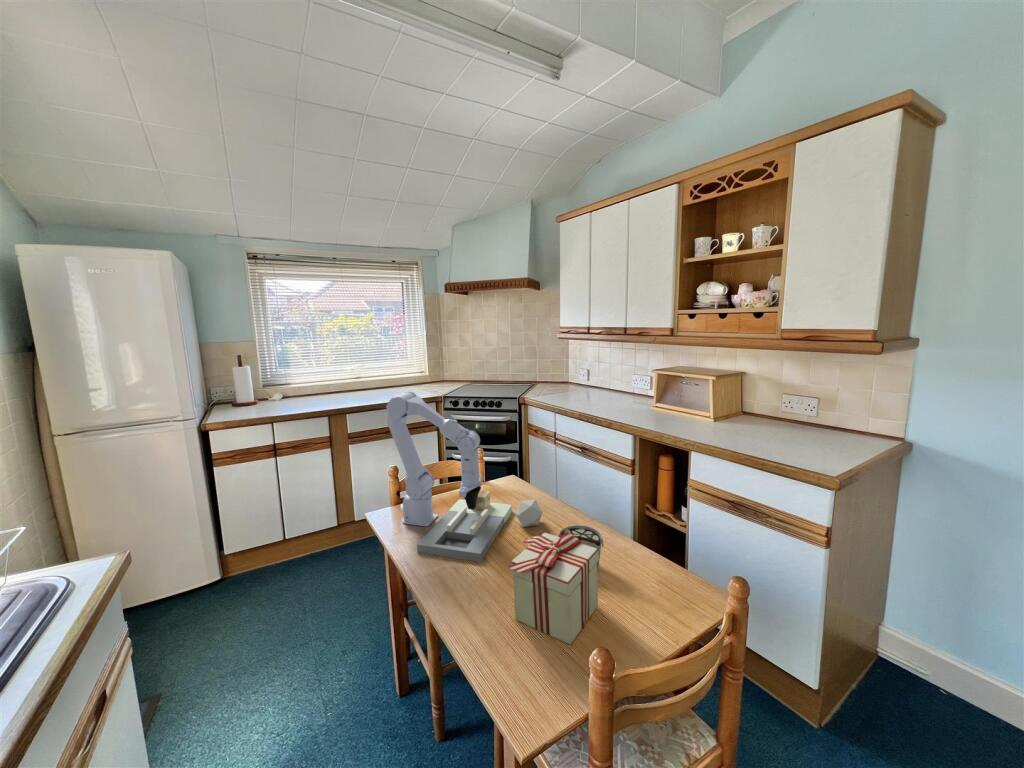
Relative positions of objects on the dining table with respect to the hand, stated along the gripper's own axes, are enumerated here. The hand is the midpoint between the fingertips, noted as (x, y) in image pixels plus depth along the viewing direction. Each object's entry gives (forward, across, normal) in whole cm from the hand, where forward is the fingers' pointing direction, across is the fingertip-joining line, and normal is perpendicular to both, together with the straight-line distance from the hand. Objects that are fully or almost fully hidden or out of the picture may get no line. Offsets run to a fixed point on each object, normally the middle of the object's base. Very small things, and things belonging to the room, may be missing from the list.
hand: (471, 508), depth 138 cm
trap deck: (+6, -3, 0) cm, 7 cm away
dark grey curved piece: (+6, -13, -38) cm, 41 cm away
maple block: (+3, +8, 0) cm, 8 cm away
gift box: (+6, -34, -33) cm, 48 cm away
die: (+6, +5, -18) cm, 20 cm away
